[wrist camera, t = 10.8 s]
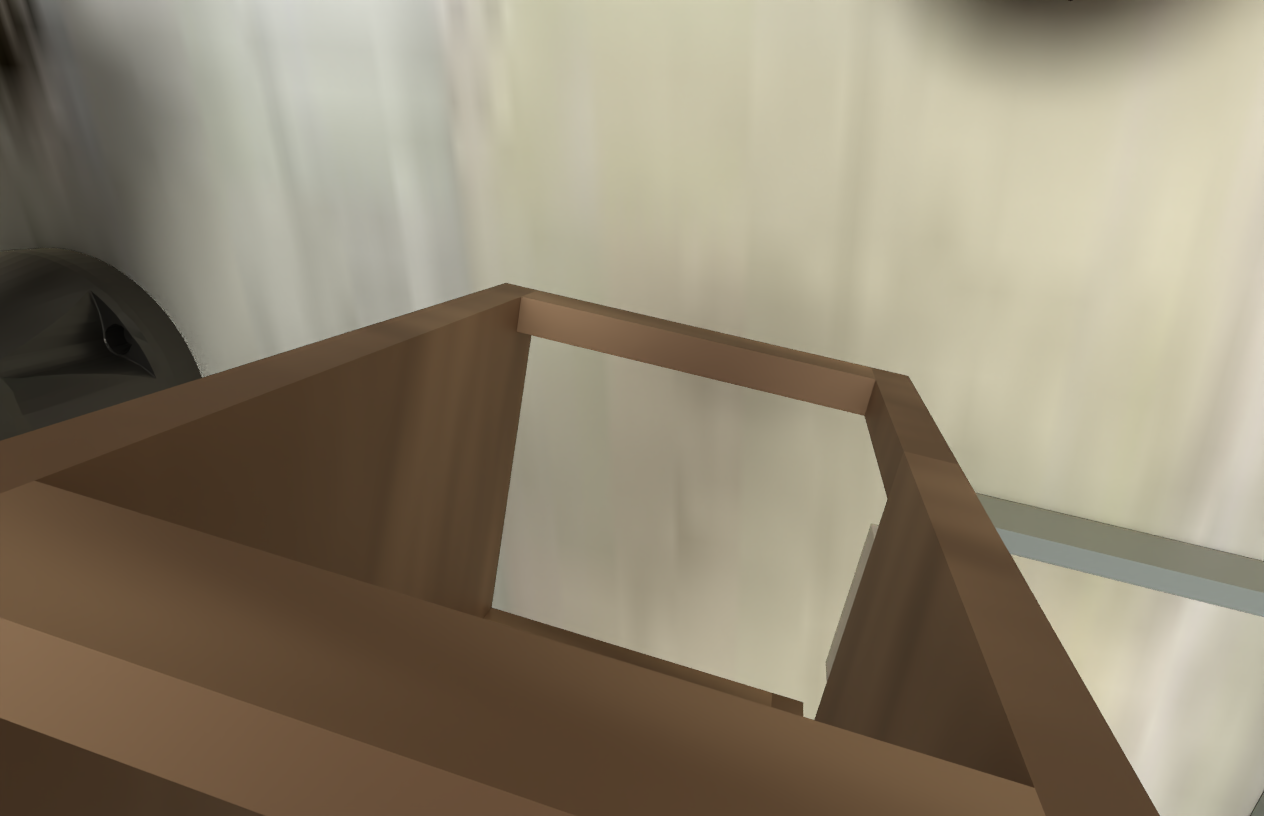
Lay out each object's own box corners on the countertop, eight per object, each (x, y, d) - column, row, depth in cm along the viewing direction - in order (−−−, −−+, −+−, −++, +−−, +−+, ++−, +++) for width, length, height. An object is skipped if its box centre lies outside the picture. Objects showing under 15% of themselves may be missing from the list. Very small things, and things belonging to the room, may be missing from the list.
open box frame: (461, 623, 15) (-82, 1313, 6) (505, 282, 13) (-269, 524, 4) (795, 727, 14) (780, 1769, 5) (908, 376, 12) (1303, 1067, 3)
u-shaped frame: (827, 776, 32) (828, 831, 29) (921, 480, 28) (933, 512, 25) (1228, 901, 29) (1271, 976, 27) (1405, 594, 25) (1479, 645, 22)
